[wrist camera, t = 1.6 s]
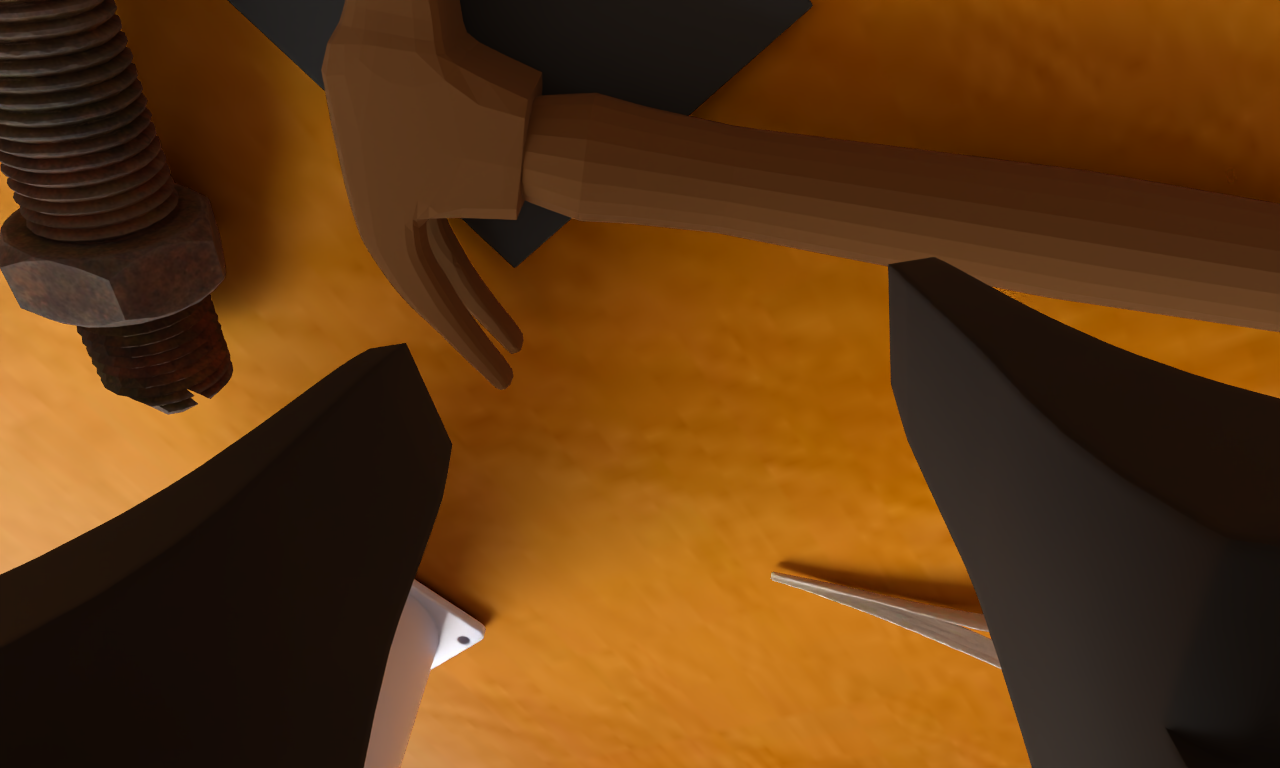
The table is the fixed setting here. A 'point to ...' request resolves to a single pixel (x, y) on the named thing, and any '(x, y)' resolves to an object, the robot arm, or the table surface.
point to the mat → (574, 58)
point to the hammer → (738, 190)
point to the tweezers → (909, 616)
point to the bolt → (104, 208)
